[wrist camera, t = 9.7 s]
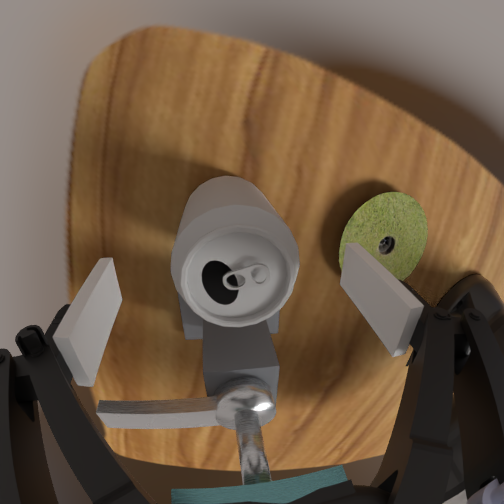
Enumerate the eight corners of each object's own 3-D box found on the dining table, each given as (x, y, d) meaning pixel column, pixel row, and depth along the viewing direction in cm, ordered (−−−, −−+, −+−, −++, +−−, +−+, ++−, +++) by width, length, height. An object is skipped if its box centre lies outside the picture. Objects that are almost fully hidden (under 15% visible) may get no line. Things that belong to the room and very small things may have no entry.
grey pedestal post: (279, 262, 29) (318, 344, 18) (275, 326, 32) (304, 412, 21) (176, 268, 27) (160, 357, 16) (186, 332, 31) (181, 423, 20)
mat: (310, 243, 28) (316, 251, 26) (387, 165, 26) (398, 168, 24) (367, 300, 32) (374, 310, 31) (430, 235, 30) (440, 241, 28)
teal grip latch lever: (94, 386, 17) (67, 507, 8) (307, 366, 18) (357, 497, 9) (116, 417, 18) (101, 525, 10) (304, 399, 20) (342, 512, 11)
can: (171, 191, 24) (141, 245, 13) (253, 162, 24) (288, 192, 13) (202, 264, 28) (200, 352, 17) (277, 237, 27) (319, 312, 17)
